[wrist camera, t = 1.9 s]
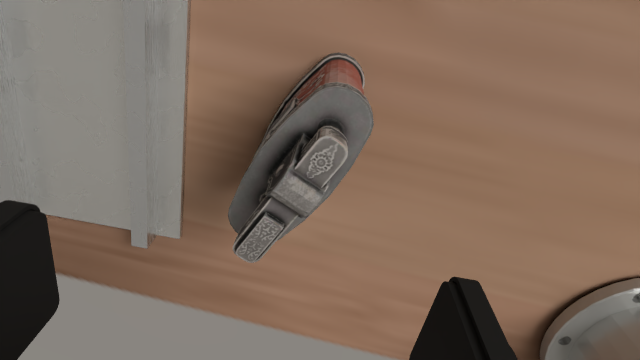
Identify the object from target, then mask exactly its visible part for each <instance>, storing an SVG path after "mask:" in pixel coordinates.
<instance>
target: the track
mask: <svg viewBox="0 0 640 360" xmlns="http://www.w3.org/2000/svg"><path fill="white" fill-rule="evenodd" d="M190 3H191V0H0V203H1V202H3V201H5V200H12V201H18V202H23V203H29V204H34V205H37V206H38V207H39V209H40V212H42V213H44V214H47V215H52V216H58V217H63V218H69V219H74V220H79V221H85V222H90V223H96V224H101V225H106V226H112V227H117V228H123V229H128V230H131V244H132V246H136V247H142V248H148V247H149V246H150V244H151V243H152V242H153V240H154V239H155V237H156V236H157V235H160V236H166V237H171V238H177V239H180V238H181V236H182V218H183V191H184V164H185V138H186V111H187V84H188V57H189V30H190Z"/></svg>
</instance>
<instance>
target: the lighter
mask: <svg viewBox="0 0 640 360" xmlns="http://www.w3.org/2000/svg"><path fill="white" fill-rule="evenodd" d="M364 84H365V82H364V74H363V71H362V68H361V66H360V64H359V63H358V62H357V61H356V60H355V59H354V58H353V57H351V56H349V55H347V54H343V53H332V54H329V55H327V56H326V57H324V58H323V59H322V60H321V61H320V62H319V63H318V64H317V65H316V66H314V67H313V68H312V69H311V70H310V71H309V72H308V73H307V74H306V75H305V76H304V77H303V78H302V79H301V80H300V81H299V83H298V84H297V85H296V86H295V87H294V89H293V90H292V91H291V92H290V93H289V94H288V96H287V97H286V98H285V99H284V101H283V103H282V104H281V106H280V108H279V109H278V111H277V113H276V114H275V116H274V117H273V119H272V121H271V123H270V125H269V127H268V129H267V131H266V133H265V135H264V138H263V140H262V142H261V144H260V146H259V147H258V149H257V151H256V153H255V155H254V157H253V161H252V163H251V164H250V166H249V167H248V169H247V171H246V172H245V174H244V176H243V178H242V180H241V183H240V185H239V187H238V189H237V192H236V194H235V196H234V198H233V201H232V203H231V205H230V207H229V212H228V218H229V221H230V224H231V226H232V227H233V229H234V230H235V231H236V232H237V233H238V235H237V237H236V240H235V242H234V245H233V251H234V253H235V254H236V255H237V256H238V257H240V258H241V259H243V260H245V261H247V262H250V263H254V262H257V261H259V260H260V259H261V258H262V257H263V256H264V254H265V253H266V252H267V251H268V250H269V249H270V248H271V246H272V245H273V244H274V243H275V242H276V241H277V240H279V239H281V238H282V237H283V236H285V235H286V234H287V233H289V232H290V231H291V230H292V229H294V228H295V227H296V226H298V225H299V224H300V223H302V222H303V221H304V220H305V219H306V218H307V217H308V216H309V215H311V214H312V213H313V212H314V211H315V210H316V209H317V208H318V207H319V206H320V205H321V204H322V203H323V202H324V201H325V200H326V199H327V198H328V197H329V196H330V195H331V193H332V192H333V191H334V189H335V188H336V187H337V185H338V184H339V183H340V181H341V180H342V179H343V178H344V176H345V175H346V174H347V172H348V171H349V170H350V168H351V167H352V165H353V164H354V162H355V160H356V158H357V157H358V155H359V153H360V152H361V150H362V148H363V146H364V145H365V143H366V141H367V140H368V138H369V136H370V134H371V131H372V128H373V113H372V109H371V106H370V104H369V102H368V100H367V98H366V97H365V96H364V93H363V87H364Z"/></svg>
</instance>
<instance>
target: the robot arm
mask: <svg viewBox="0 0 640 360" xmlns="http://www.w3.org/2000/svg"><path fill="white" fill-rule="evenodd" d="M58 305H59V293H58V287H57V280H56V274H55V268H54V261H53V255H52V249H51V243H50V236H49V230H48V224H47V218H46V215H45V214H44V213H42V212H40V209H39V207H38V206H37V205H34V204H29V203H23V202H18V201H12V200H5V201H3V202H1V203H0V360H17V359H18V358H19V356H20V355H21V354H22V353H23V352H24V350H25V349H26V348H27V347H28V345H29V344H30V343H31V342H32V341H33V339H34V338H35V337H36V336H37V334H38V333H39V332H40V331H41V330H42V328H43V327H44V326H45V325H46V323H47V322H48V321H49V320H50V319H51V317H52V316H53V315H54V313H55V312H56V310H57V308H58ZM539 355H540V360H640V278H634V279H630V280H626V281H622V282H617V283H614V284H611V285H609V286H606V287H603V288H600V289H598V290H596V291H594V292H592V293H590V294H588V295H586V296H584V297H582V298H580V299H579V300H577V301H576V302H575V303H573V304H572V305H570V306H569V307H568V308H566V309H565V310H564V311H563V312H562V313H561V314H560V315H559V316H558V317H557V318H556V319H555V320H554V321H553V323H552V324H551V326H550V327H549V328H548V330H547V331H546V333H545V336H544V338H543V340H542V342H541V348H540V354H539ZM409 360H517V358H516V355H515V353H514V352H513V350H512V348H511V347H510V346H509V344H508V342H507V340H506V338H505V336H504V334H503V331H502V329H501V327H500V325H499V323H498V321H497V319H496V317H495V314H494V312H493V310H492V308H491V306H490V304H489V302H488V300H487V297H486V295H485V293H484V291H483V289H482V287H481V285H480V283H479V282H478V281H476V280H470V279H464V278H459V277H452V278H451V279H450V280H449V282H446V281H445V282H443V283H442V285H441V287H440V289H439V291H438V293H437V296H436V298H435V300H434V302H433V305H432V307H431V309H430V311H429V314H428V316H427V318H426V320H425V323H424V325H423V327H422V329H421V332H420V334H419V336H418V338H417V341H416V343H415V345H414V347H413V350H412V352H411V355H410V359H409Z"/></svg>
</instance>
